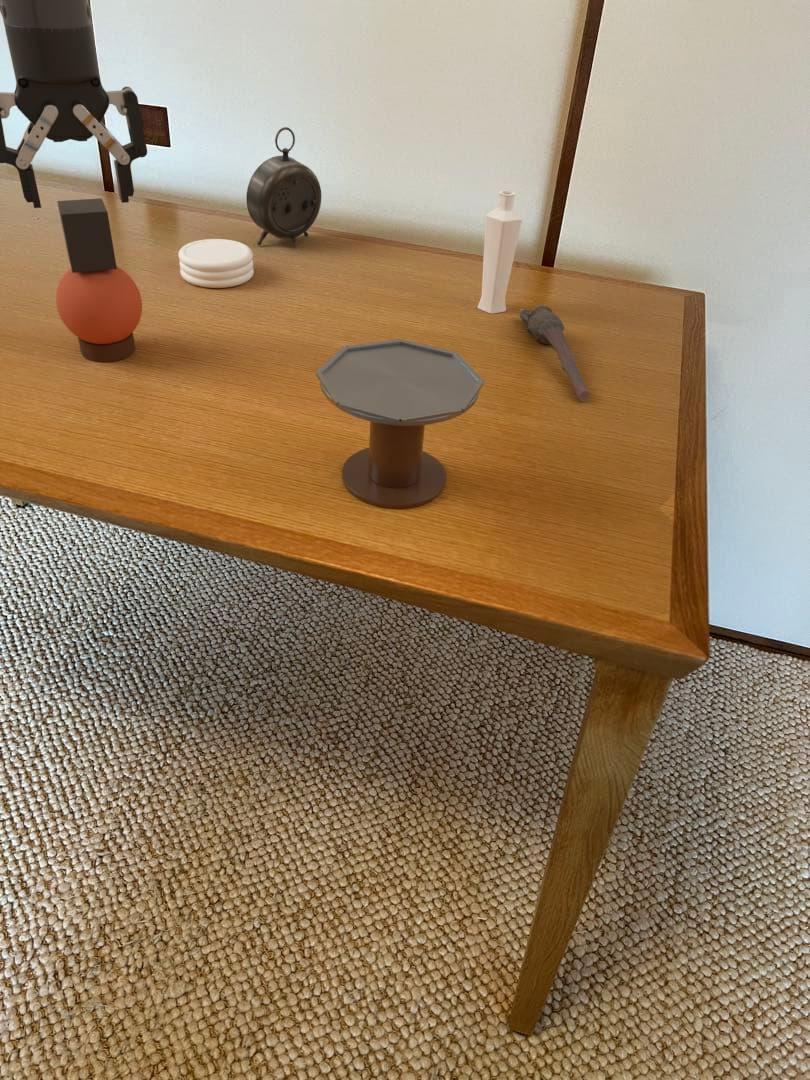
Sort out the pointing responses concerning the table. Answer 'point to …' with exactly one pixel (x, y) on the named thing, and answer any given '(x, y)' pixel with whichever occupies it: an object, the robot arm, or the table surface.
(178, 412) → the table surface
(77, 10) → the robot arm
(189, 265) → the coaster
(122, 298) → the ball
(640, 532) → the table surface
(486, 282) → the perfume bottle
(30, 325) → the table surface
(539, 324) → the natural artifact
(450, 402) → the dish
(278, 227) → the alarm clock
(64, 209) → the block
